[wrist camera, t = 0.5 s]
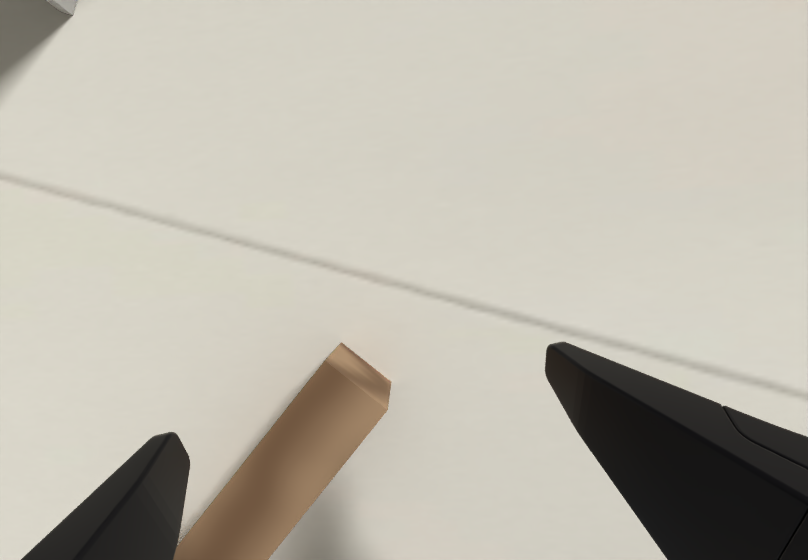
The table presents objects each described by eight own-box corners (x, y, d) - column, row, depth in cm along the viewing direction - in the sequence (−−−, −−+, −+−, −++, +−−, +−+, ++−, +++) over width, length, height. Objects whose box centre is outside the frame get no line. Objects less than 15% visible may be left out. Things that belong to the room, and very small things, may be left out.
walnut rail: (391, 380, 24) (387, 409, 19) (218, 597, 24) (168, 682, 19) (342, 341, 24) (324, 360, 19) (168, 559, 24) (107, 634, 19)
